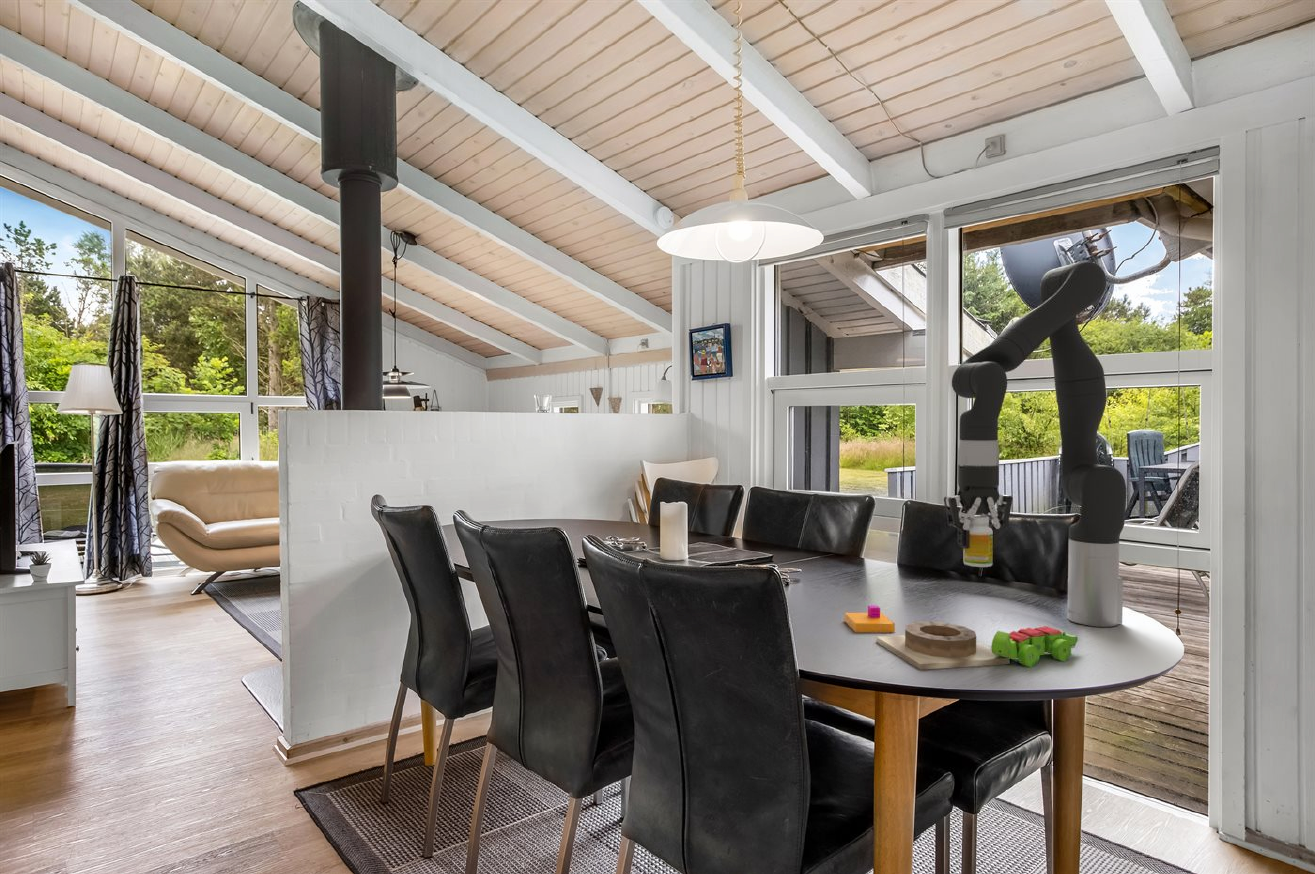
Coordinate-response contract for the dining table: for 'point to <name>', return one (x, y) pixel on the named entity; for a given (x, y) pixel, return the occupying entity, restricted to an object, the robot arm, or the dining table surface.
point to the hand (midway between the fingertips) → (977, 547)
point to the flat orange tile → (870, 621)
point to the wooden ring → (940, 639)
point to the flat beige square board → (933, 662)
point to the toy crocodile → (1033, 644)
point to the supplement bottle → (979, 543)
